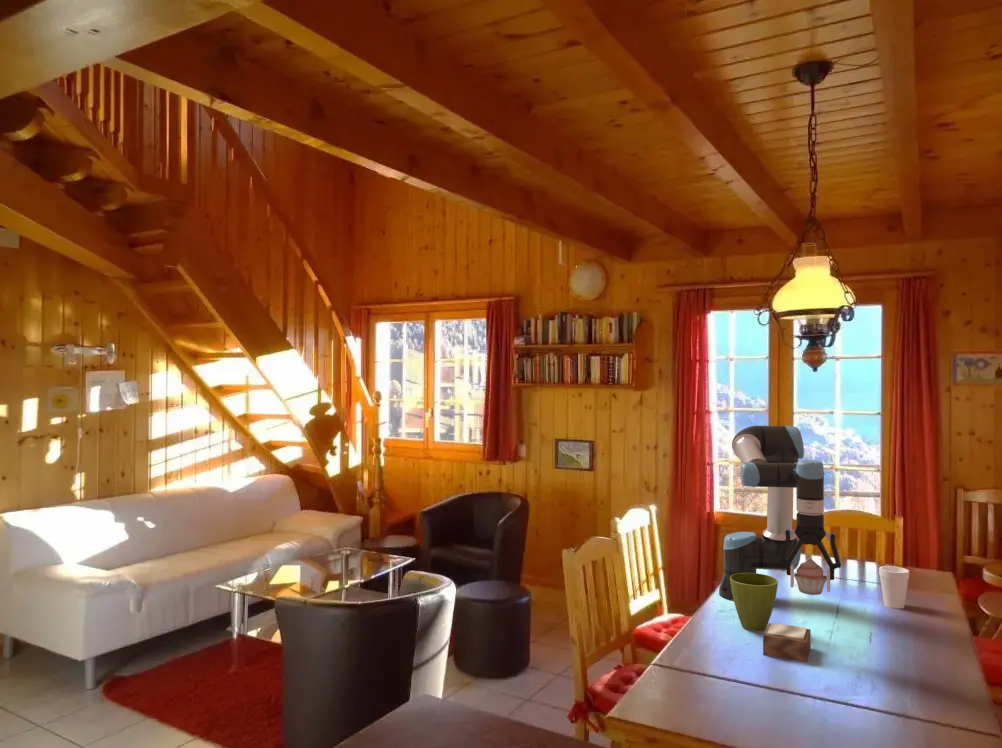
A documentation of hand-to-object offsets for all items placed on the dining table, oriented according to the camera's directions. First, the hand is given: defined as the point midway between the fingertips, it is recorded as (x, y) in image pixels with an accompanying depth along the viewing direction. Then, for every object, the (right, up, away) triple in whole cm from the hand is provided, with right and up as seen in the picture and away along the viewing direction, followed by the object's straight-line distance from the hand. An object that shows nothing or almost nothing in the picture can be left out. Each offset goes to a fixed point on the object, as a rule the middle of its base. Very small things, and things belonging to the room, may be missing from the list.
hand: (810, 588), depth 218 cm
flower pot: (-9, -19, +22) cm, 30 cm away
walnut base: (-7, -19, +1) cm, 20 cm away
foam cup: (+49, -19, +44) cm, 69 cm away
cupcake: (0, -1, 0) cm, 1 cm away
